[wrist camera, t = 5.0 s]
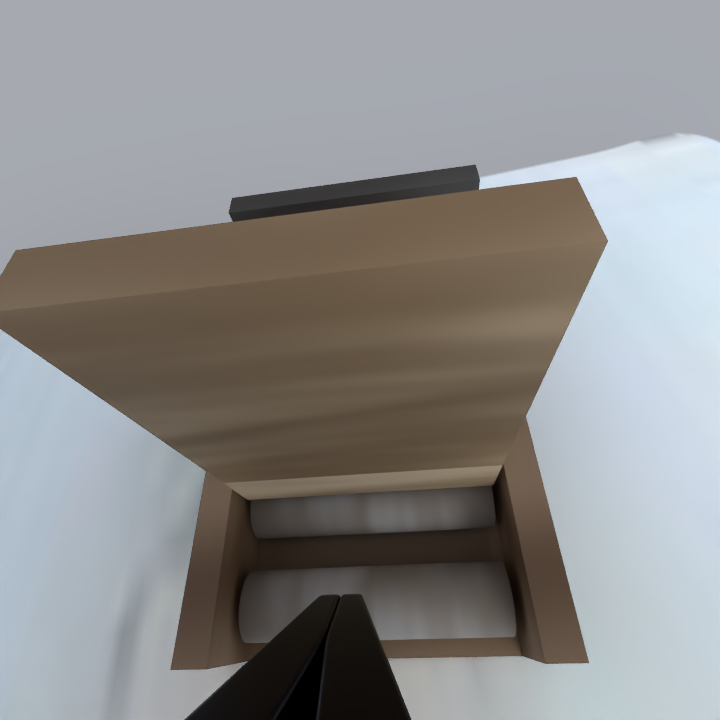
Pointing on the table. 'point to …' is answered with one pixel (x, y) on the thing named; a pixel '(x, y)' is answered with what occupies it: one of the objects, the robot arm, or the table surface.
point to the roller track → (382, 535)
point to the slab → (323, 334)
